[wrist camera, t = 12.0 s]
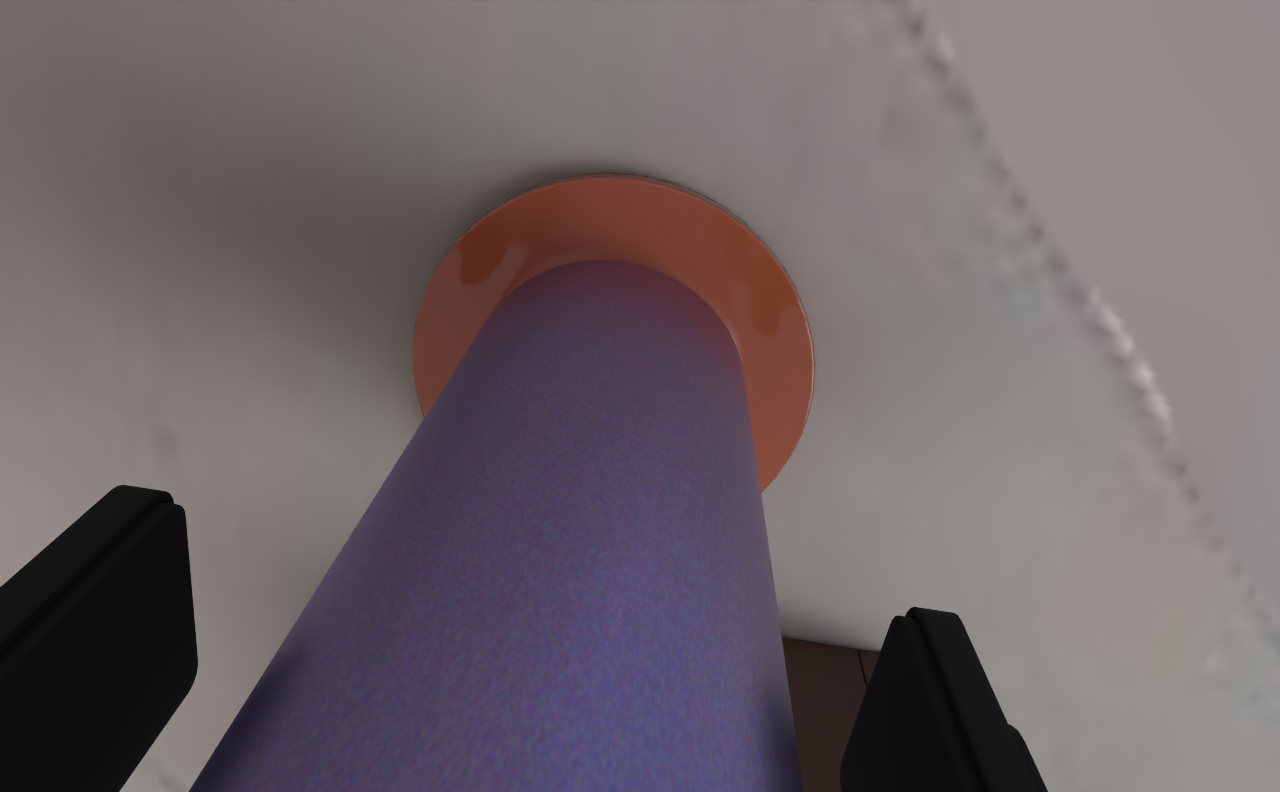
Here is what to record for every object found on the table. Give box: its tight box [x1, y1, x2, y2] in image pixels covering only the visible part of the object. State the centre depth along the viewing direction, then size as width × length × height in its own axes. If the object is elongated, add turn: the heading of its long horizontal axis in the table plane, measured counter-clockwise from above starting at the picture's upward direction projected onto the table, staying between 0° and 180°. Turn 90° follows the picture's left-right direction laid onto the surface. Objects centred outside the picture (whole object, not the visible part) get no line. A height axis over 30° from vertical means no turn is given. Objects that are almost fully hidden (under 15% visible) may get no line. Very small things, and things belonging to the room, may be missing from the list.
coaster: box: [413, 173, 815, 493], centre depth 19 cm, size 9×9×1 cm
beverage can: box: [189, 260, 804, 792], centre depth 12 cm, size 6×6×15 cm
